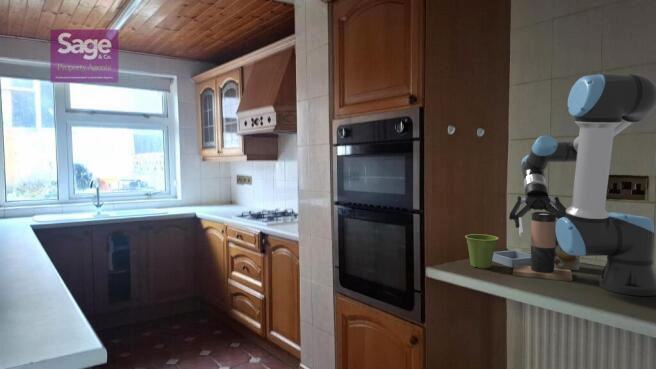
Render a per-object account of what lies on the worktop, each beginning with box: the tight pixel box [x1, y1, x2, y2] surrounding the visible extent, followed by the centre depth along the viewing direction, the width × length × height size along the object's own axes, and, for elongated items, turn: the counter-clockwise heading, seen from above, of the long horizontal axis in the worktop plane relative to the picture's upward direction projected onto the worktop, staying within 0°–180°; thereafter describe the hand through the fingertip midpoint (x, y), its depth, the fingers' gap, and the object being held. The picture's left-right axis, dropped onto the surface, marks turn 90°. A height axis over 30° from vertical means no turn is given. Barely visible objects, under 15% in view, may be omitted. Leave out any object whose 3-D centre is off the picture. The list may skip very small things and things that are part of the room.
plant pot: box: [464, 233, 499, 269], centre depth 162 cm, size 12×12×11 cm
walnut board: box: [512, 265, 573, 282], centre depth 150 cm, size 18×10×2 cm, turn 63°
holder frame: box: [492, 249, 531, 269], centre depth 168 cm, size 13×13×3 cm
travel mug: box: [530, 211, 557, 273], centre depth 149 cm, size 8×8×20 cm
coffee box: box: [554, 237, 581, 271], centre depth 159 cm, size 9×6×16 cm
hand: (542, 235), depth 148 cm, fingers open, 13 cm apart
